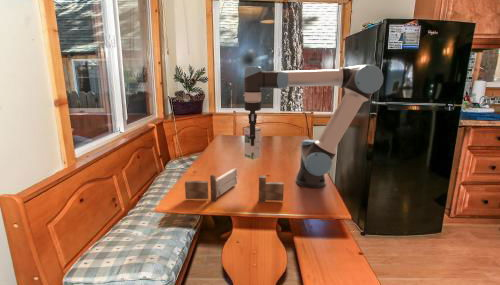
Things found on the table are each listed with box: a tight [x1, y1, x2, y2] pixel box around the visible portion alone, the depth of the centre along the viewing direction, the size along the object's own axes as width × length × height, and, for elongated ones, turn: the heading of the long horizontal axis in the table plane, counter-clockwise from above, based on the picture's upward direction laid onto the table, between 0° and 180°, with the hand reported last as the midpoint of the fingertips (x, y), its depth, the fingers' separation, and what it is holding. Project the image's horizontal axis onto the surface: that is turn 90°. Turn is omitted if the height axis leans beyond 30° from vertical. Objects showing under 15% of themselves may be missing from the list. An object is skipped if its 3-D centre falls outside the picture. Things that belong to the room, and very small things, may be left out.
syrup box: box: [243, 126, 262, 161], centre depth 137 cm, size 6×6×14 cm
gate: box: [216, 167, 238, 198], centre depth 141 cm, size 18×2×8 cm, turn 153°
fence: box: [184, 174, 285, 204], centre depth 131 cm, size 44×3×12 cm, turn 88°
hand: (252, 149), depth 138 cm, fingers closed on syrup box, 8 cm apart
